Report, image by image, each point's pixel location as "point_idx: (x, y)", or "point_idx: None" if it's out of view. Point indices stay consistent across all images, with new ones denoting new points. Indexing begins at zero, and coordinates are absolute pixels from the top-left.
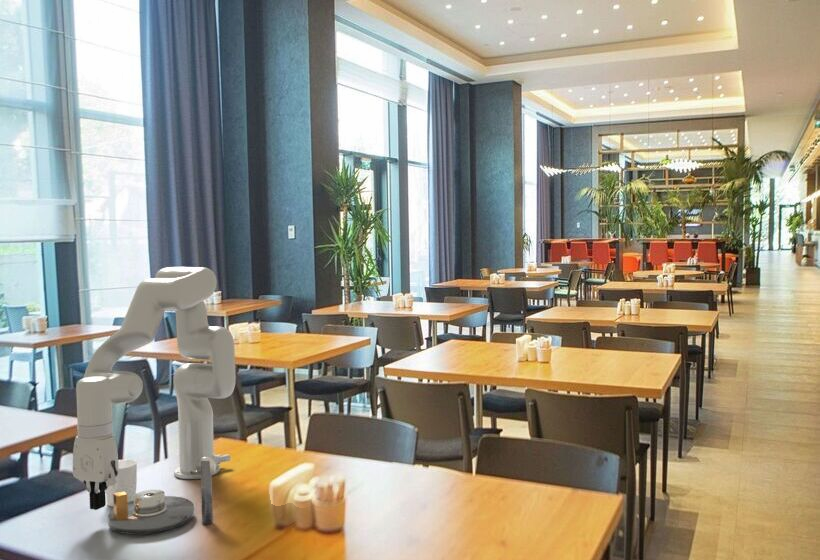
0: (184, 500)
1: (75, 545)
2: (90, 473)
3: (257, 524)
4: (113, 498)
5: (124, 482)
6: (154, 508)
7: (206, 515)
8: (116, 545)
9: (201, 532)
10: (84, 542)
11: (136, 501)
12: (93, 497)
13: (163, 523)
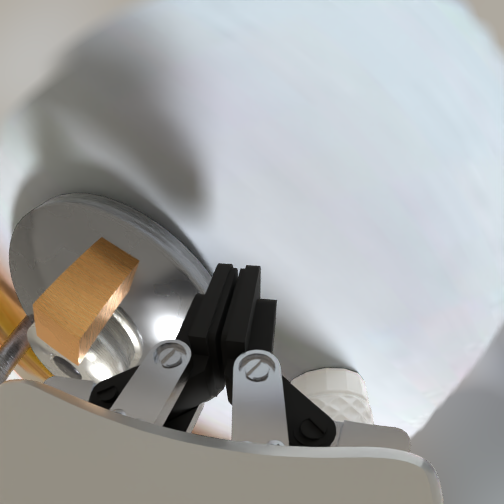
0: None
1: (166, 50)
2: (78, 492)
3: (4, 320)
4: (325, 391)
5: None
6: None
7: (20, 323)
8: (52, 134)
9: (10, 277)
10: (155, 86)
11: None
12: (208, 313)
13: (10, 261)
